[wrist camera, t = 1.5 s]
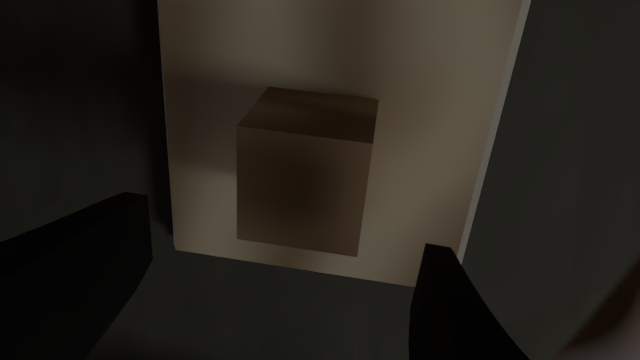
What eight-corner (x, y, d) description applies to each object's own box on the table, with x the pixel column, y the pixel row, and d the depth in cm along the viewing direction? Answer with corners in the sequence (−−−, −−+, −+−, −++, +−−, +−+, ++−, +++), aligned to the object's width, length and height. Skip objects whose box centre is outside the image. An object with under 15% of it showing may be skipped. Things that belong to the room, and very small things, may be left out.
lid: (184, 237, 23) (132, 311, 19) (167, -47, 18) (88, -36, 13) (446, 277, 22) (457, 366, 18) (518, -12, 16) (560, 13, 12)
